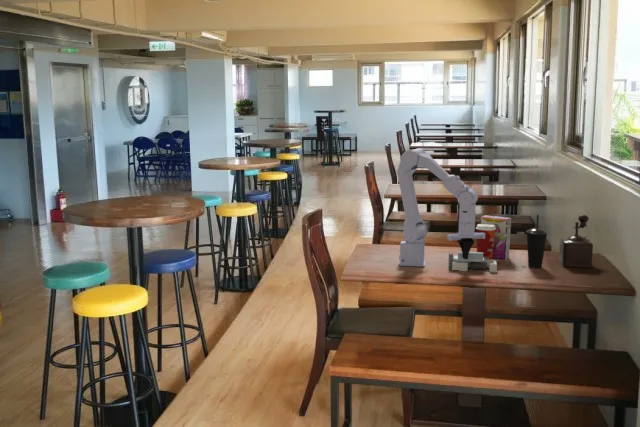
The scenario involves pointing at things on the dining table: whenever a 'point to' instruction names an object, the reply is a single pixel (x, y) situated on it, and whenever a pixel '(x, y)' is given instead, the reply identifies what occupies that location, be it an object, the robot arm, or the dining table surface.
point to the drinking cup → (536, 246)
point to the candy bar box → (499, 235)
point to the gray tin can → (478, 265)
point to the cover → (470, 257)
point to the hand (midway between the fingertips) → (465, 258)
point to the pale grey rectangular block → (464, 264)
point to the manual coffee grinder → (576, 248)
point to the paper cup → (486, 239)
